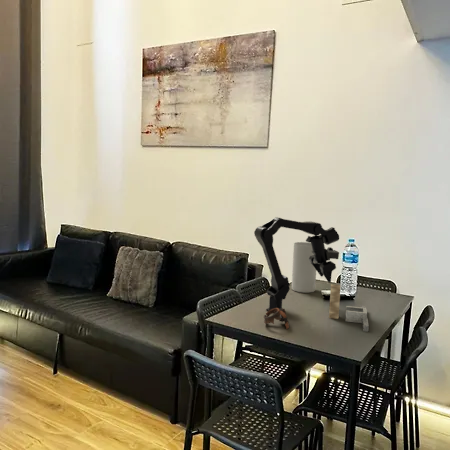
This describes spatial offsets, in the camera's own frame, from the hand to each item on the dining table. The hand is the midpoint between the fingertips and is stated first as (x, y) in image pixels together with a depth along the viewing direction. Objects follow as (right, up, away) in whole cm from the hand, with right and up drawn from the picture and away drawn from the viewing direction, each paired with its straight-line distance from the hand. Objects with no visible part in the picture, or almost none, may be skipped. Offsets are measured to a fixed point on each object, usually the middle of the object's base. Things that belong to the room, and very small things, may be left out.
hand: (325, 279), depth 205 cm
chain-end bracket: (+8, -15, -16) cm, 24 cm away
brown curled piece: (-26, -16, -27) cm, 40 cm away
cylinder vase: (-5, -10, +30) cm, 32 cm away
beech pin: (0, -15, -14) cm, 20 cm away
